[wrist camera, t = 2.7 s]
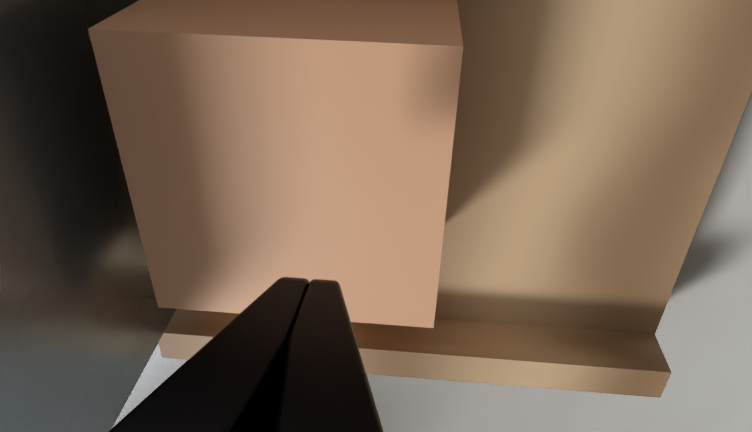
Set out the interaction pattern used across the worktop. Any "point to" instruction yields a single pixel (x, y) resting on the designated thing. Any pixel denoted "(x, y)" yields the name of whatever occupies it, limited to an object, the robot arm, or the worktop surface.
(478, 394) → the worktop surface
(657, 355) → the square wooden tray
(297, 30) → the block
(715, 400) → the worktop surface
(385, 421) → the worktop surface
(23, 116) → the tailgate
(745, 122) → the worktop surface
